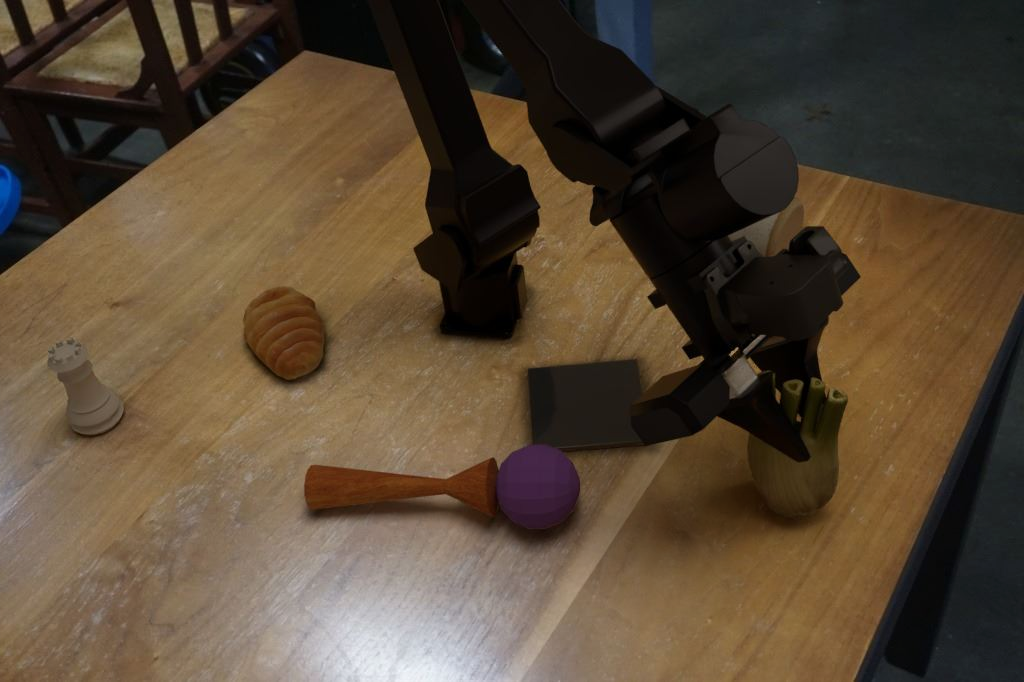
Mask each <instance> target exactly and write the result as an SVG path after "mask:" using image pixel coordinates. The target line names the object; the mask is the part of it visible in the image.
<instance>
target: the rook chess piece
mask: <svg viewBox="0 0 1024 682" xmlns="http://www.w3.org/2000/svg"><path fill="white" fill-rule="evenodd" d="M65 341H66V342H64V343H63V341H62V339H59V340H57V341H55V342H54V344H55V346H56V347H55V348H54V346H49V348H48V349H47V352H48V354H47V361H46V363H47V367H48V368H49V370H50V371H53V372H55V373H57V377H56V378H57V379H58V381H59V383H62V384H63V385H64V387H65V388H64V389H65V392H66V395H67V406H66V418H67V419H68V421H69V425H70V427H71V428H72V430H73V431H74V432H76V433H80V434H81V435H85V436H95V435H96V436H97V435H100V434H104V433H105V432H107V431H110V430H111V429H113V428H114V427H115V426H116V425H117V424H118V423H119V422H120V419H121V418H122V416H123V413H124V411H125V410H124V407H125V406H124V403H123V401H122V400H121V399H120V396H119V395H118V393H117V392H116V391H115V390H114V388H111V387H109V386H107V384H104V383H102V382H101V381H100V379H98V376H97V375H96V374H95V373H94V371H93V369H94V368H93V364H94V363H92V362H91V360H89V359H88V358H89V354H90V349H89V348H88V347H87V346H86V345H85V344H82V343H80V341H79V340H78V339H76V340H75V339H74V338H73V337H66V340H65Z"/></svg>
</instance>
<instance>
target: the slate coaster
mask: <svg viewBox="0 0 1024 682" xmlns="http://www.w3.org/2000/svg"><path fill="white" fill-rule="evenodd" d="M527 379H528V380H527V381H528V397H529V415H530V429H531V430H530V431H531V445H549V446H551V447H554V448H556V449H558V450H561V451H562V452H563V453H564V452H576V451H589V450H599V449H610V448H611V449H613V448H623V447H635V446H645V445H644V444H643V442H642V441H641V439H640V438H639V436H638V435H637V434H636V432H635V431H634V429H633V428H632V426H631V422H630V405H631V404H632V403H633V402H634V401H635V400H636V399H638V398H639V397H640V396H641V395H642V394H643V393H644V392H643V388H642V381H641V376H640V369H639V365H638V359H637V358H631V359H620V360H610V361H598V362H587V363H585V362H584V363H574V364H565V365H564V364H563V365H554V366H553V365H552V366H542V367H530V368H527Z"/></svg>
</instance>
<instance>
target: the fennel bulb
mask: <svg viewBox="0 0 1024 682" xmlns="http://www.w3.org/2000/svg"><path fill="white" fill-rule="evenodd" d="M766 372H770V370H766V371H760V372H758V373H756V374H757V375H759V374H763V373H766ZM803 386H804V385H803V382H802V381H800V380H797V379H795V380H790V381H787V382H784V384H783V387H782V392H781V394H780V398H779V402H778V403H779V405H780V406H781V408H782V409H783V411H784V412H785V414H786V415H787V417H788V418H789V420H790V421H791V423H792V424H793V426H794V427H795V429H796V430H797V432H798V433H799V435H800V436H801V438H802V440H803V442H804V444H805V446H806V448H807V450H808V451H809V453H810V456H811V458H810V459H809V460H808V461H806V462H800V463H799V462H796V461H795V460H793V459H791V458H790V457H788V456H786V455H785V454H783V453H781V452H780V451H778V450H777V449H775V448H773V447H772V446H770V445H768V444H767V443H765V442H764V441H762V440H760V439H759V438H757V437H755V436H754V435H752V434H750V433H749V432H748V437H747V445H746V446H747V447H746V451H747V462H748V467H749V471H750V473H751V478H752V480H753V481H754V485H755V488H756V489H757V491H758V493H759V494H760V497H761V498H762V500H763V502H764V503H765V504H766V506H767V507H768V508H769V510H771V511H772V512H773V513H775V514H776V515H778V516H781V517H784V518H789V519H794V520H795V519H804V518H808V517H811V516H812V515H813V514H814V513H815V512H817V511H818V510H821V509H822V508H823V507H825V506H826V505H827V504H829V502H830V501H831V500H832V498H833V497H834V494H835V492H836V490H837V487H838V483H839V481H838V480H839V475H840V458H839V433H840V428H841V424H842V422H843V421H842V420H843V417H844V413H845V411H846V407H847V405H848V403H849V396H848V395H847V393H846V392H845V391H844V390H842V389H839V388H836V387H832V386H830V387H829V388H828V390H827V394H826V400H825V403H824V404H822V399H823V396H824V392H825V393H826V383H825V382H824V381H823V380H822V381H821V380H820V379H818V378H815V377H812V378H811V381H810V386H809V390H808V394H807V398H806V402H805V406H804V409H803V414H802V417H800V421H798V420H797V419H798V418H797V417H798V416H799V414H798V410H799V405H800V402H801V396H802V390H803ZM773 395H774V397H775V398H776V399H777V389H776V383H775V373H773Z"/></svg>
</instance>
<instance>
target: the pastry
mask: <svg viewBox="0 0 1024 682" xmlns="http://www.w3.org/2000/svg"><path fill="white" fill-rule="evenodd" d="M242 322H243V330H242V331H243V332H242V333H243V339H244V341H245V342H246V343H247V344H248V346H249V348H250V349H251V352H253V354H254V355H255V356H256V357H257V358H258V359H259V361H261V362H262V363H263V364H264V365H265V366H266V367H267V368H268V369H269V370H270V371H271V372H272V373H274V374H275V376H278V377H280V378H283V379H285V380H288V381H289V380H295V379H297V378H300V377H303V376H305V375H308V374H310V373H311V372H313V371H314V370H316V368H318V367H319V365H320V364H321V361H322V359H323V357H324V345H325V342H326V338H325V332H324V331H325V321H324V320H323V318H322V317H321V316H320V315H319V312H318V311H317V308H316V302H315V300H313V299H312V298H310V297H309V296H307V295H305V294H304V293H303V292H300V291H299V290H296V289H295V288H294V287H292V286H287V285H284V286H283V285H282V286H276V287H272V288H269V289H266V290H264V291H263V292H261V293H260V294H259V295H258V296H257V297H255V298H253V299H251V301H250V302H249V304H248V305H247V306H246V308H245V310H244V314H243V317H242Z"/></svg>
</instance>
